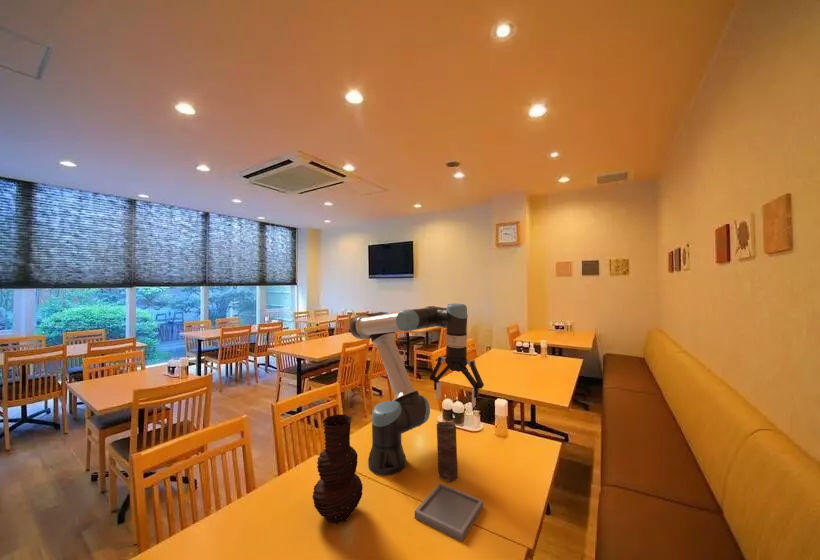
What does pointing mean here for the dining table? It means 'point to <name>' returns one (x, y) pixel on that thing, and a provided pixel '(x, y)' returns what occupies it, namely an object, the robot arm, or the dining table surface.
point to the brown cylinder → (447, 451)
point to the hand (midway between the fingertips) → (455, 402)
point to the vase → (337, 472)
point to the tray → (449, 511)
